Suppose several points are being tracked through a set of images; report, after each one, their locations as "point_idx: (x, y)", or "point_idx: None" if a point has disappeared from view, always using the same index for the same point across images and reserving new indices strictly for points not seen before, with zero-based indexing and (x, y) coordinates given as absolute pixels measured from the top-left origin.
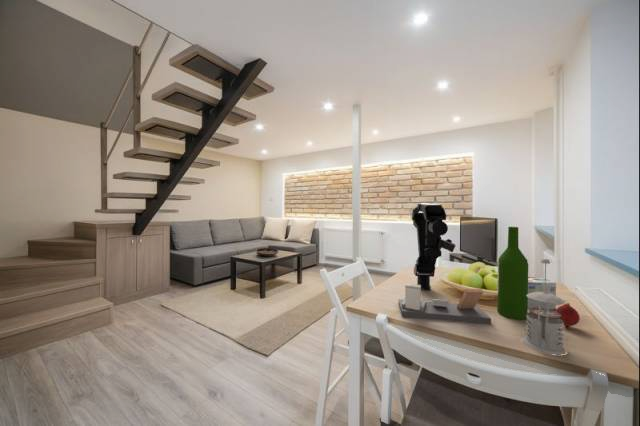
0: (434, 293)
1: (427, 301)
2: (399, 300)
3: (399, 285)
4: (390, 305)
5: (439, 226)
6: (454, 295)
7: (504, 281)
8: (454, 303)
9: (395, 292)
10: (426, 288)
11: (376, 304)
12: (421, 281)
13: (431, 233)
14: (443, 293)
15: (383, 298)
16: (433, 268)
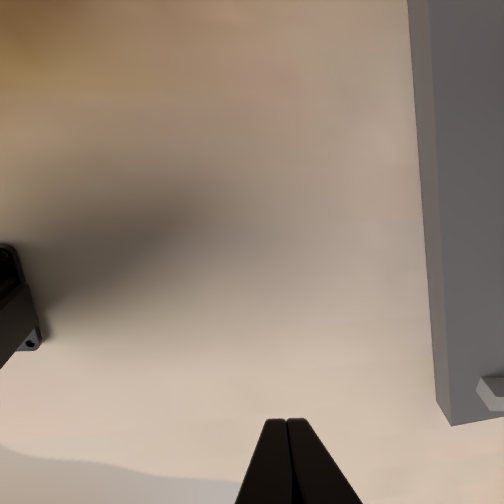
0: (77, 209)
1: (446, 265)
2: (474, 419)
3: (42, 441)
4: (469, 429)
5: None
6: (16, 22)
7: None
8: (435, 42)
9: (218, 440)
10: (15, 280)
11: (472, 482)
12: (4, 354)
13: None
14: (23, 132)
15: (364, 472)
16: (316, 446)
